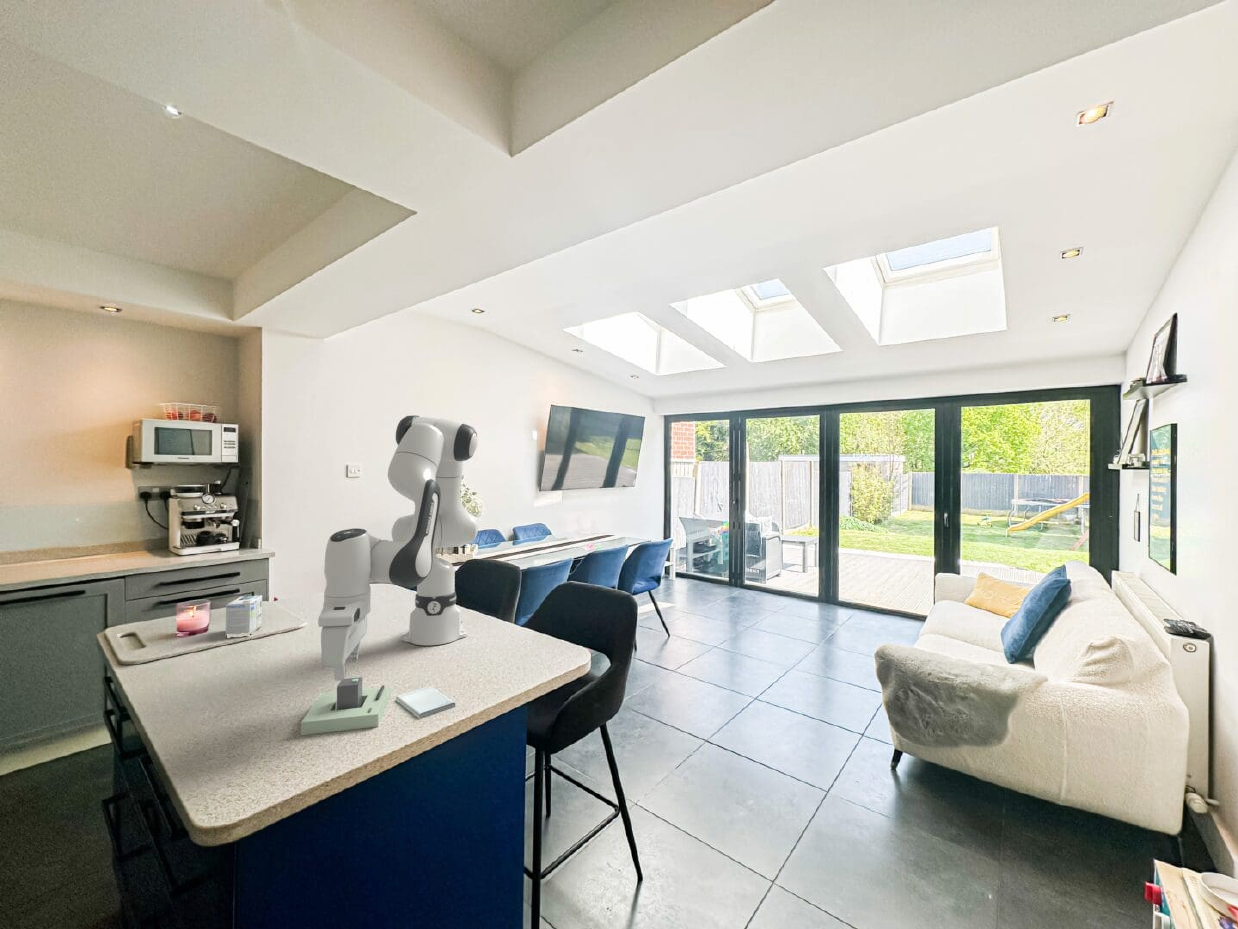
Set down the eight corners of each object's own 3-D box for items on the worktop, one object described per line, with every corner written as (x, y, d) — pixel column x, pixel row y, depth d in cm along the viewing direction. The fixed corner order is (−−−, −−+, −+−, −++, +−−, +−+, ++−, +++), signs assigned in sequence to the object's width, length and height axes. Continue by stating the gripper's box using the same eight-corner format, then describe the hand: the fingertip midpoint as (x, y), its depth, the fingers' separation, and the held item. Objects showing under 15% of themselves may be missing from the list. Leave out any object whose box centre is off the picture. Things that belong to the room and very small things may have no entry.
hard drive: (455, 701, 113) (430, 684, 122) (419, 713, 107) (395, 695, 116) (455, 709, 113) (430, 691, 122) (419, 721, 107) (395, 702, 116)
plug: (341, 711, 110) (342, 677, 110) (362, 709, 111) (362, 675, 111) (336, 720, 106) (337, 685, 106) (357, 718, 107) (358, 683, 107)
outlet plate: (322, 703, 114) (323, 689, 114) (390, 697, 117) (390, 683, 117) (300, 735, 100) (301, 718, 100) (378, 726, 104) (378, 710, 104)
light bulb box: (238, 629, 168) (239, 596, 168) (262, 627, 170) (263, 594, 170) (224, 639, 158) (225, 604, 158) (250, 637, 160) (250, 602, 160)
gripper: (345, 593, 119) (344, 653, 119) (314, 621, 99) (314, 692, 99) (374, 592, 120) (374, 651, 120) (350, 619, 100) (349, 689, 100)
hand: (346, 670), depth 109 cm, fingers open, 8 cm apart
